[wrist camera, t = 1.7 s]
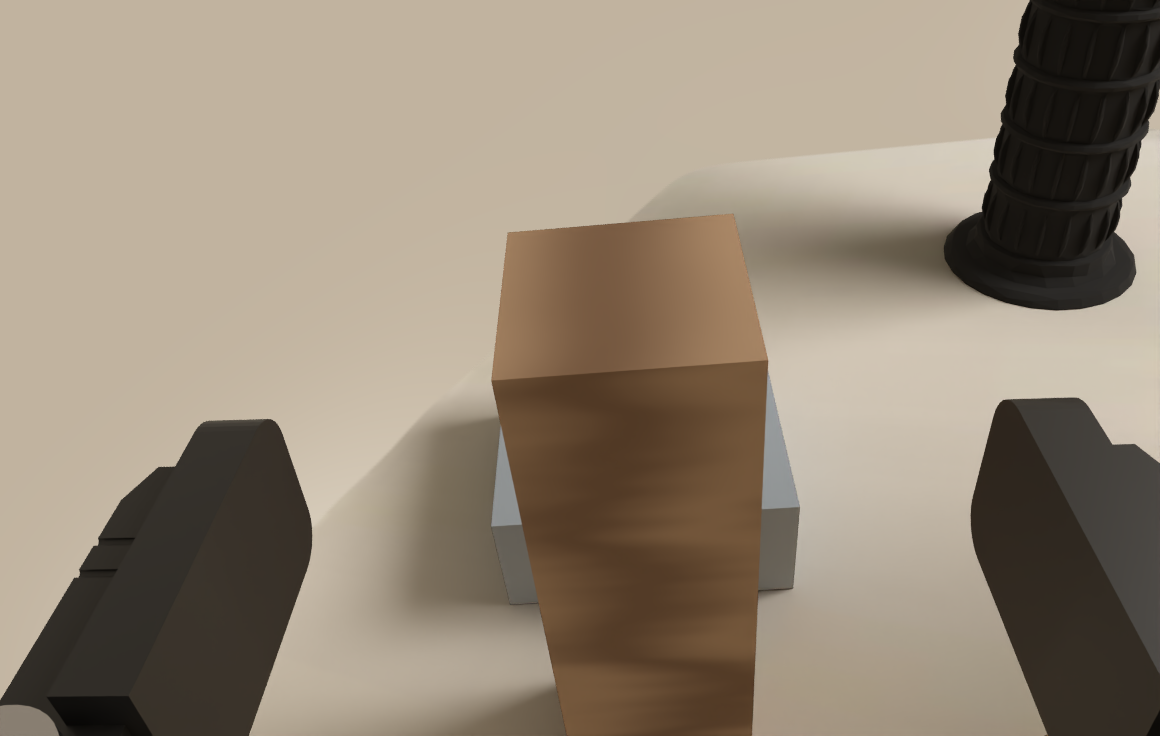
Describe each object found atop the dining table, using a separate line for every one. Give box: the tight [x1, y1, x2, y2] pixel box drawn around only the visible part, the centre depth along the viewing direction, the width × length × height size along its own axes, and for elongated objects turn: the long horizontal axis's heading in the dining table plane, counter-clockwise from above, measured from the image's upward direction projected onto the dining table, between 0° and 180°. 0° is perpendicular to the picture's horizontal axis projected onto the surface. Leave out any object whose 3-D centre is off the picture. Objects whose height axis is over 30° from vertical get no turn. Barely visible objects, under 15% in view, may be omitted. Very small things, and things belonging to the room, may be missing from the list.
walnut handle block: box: [491, 214, 768, 736], centre depth 27 cm, size 6×6×20 cm
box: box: [491, 373, 800, 605], centre depth 41 cm, size 12×12×5 cm
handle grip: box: [944, 0, 1160, 310], centre depth 45 cm, size 10×26×10 cm
